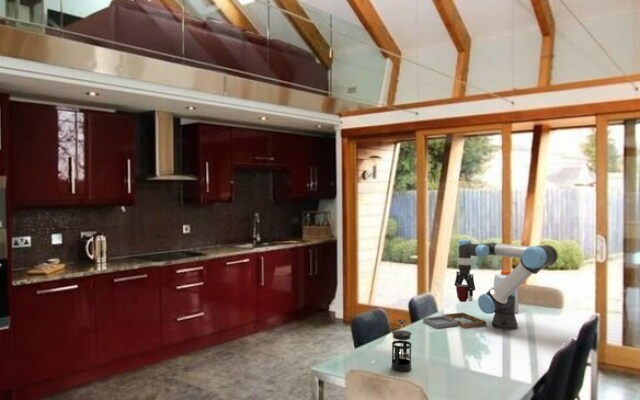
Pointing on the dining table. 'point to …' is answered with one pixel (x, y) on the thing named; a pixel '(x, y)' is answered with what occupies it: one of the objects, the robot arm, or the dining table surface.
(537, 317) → the dining table surface
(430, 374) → the dining table surface
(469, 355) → the dining table surface
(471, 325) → the brown wooden tray
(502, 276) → the plastic bottle
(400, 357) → the french press
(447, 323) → the tray
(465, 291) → the mug
